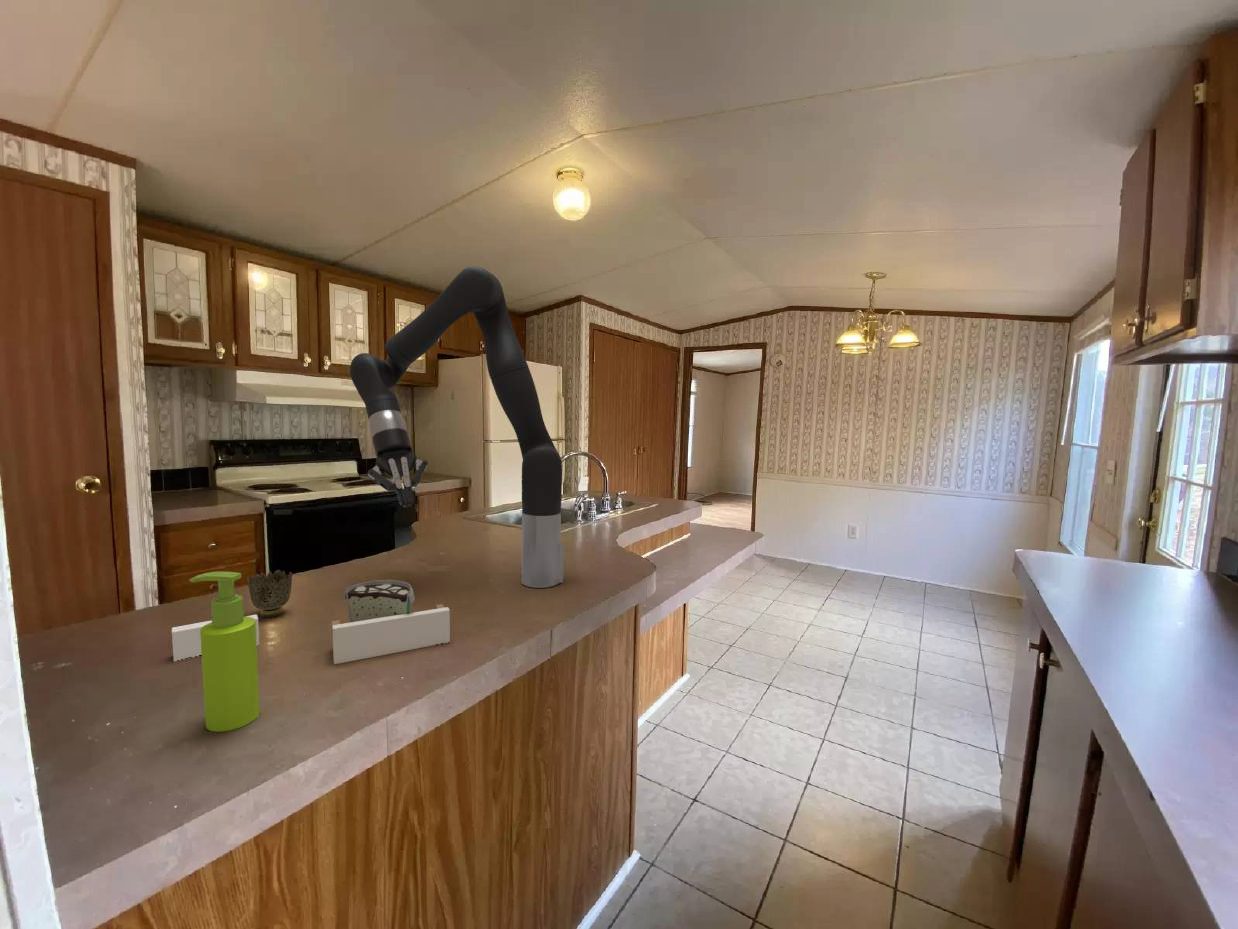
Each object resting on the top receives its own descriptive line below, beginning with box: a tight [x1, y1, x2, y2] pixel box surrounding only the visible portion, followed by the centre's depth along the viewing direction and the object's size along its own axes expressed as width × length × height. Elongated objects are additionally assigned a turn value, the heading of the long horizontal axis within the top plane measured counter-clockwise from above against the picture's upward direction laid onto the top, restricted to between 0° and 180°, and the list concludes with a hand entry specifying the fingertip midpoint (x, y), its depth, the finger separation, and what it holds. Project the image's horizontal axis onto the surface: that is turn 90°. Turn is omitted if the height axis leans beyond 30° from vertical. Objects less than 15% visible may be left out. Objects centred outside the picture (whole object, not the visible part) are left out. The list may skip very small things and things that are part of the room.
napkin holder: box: [171, 613, 260, 662], centre depth 90 cm, size 15×11×6 cm
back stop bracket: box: [331, 603, 451, 665], centre depth 94 cm, size 18×6×6 cm, turn 120°
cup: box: [246, 569, 293, 618], centre depth 105 cm, size 8×7×8 cm
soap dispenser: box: [188, 571, 261, 733], centre depth 71 cm, size 6×7×20 cm
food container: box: [343, 579, 415, 623], centre depth 97 cm, size 12×6×10 cm, turn 85°
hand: (407, 505), depth 115 cm, fingers closed
